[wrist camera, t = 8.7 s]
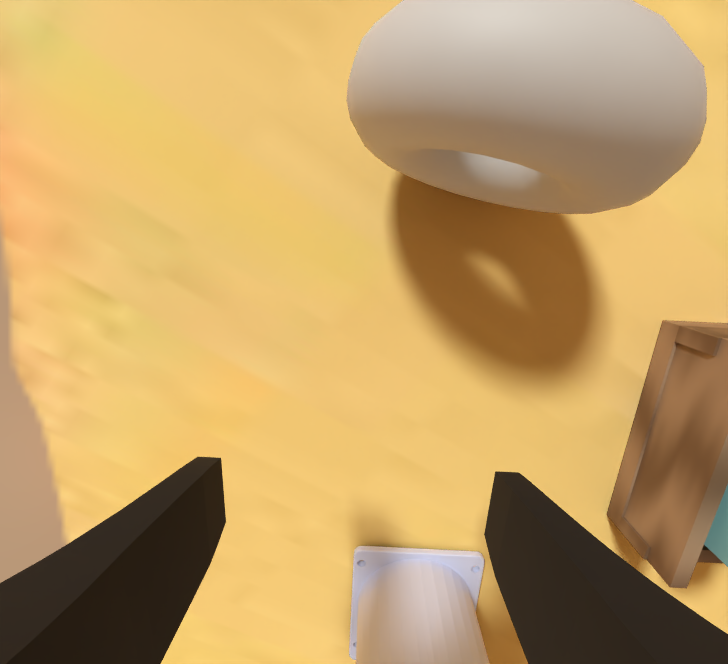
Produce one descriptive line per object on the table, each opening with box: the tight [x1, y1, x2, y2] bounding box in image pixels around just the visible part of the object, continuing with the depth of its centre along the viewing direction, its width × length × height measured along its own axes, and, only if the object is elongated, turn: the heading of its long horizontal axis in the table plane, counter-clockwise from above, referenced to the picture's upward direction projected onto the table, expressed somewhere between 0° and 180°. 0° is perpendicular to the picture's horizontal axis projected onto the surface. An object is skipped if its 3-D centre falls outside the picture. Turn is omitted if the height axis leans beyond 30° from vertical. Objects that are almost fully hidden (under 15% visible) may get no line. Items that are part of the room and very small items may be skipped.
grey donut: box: [347, 0, 707, 214], centre depth 11 cm, size 10×4×10 cm, turn 74°
